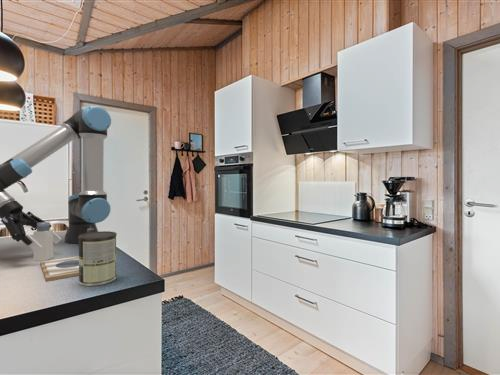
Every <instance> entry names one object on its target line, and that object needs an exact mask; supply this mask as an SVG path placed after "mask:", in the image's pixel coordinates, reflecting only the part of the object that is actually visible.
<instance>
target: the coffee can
mask: <svg viewBox="0 0 500 375" xmlns="http://www.w3.org/2000/svg"><path fill="white" fill-rule="evenodd" d="M78 239H79V243H78V256H79V276H78V284H79V285H80V286H84V287H85V286H86V287H95V286H97V287H98V286H102V285H106V284H109V283H112V282H114V281H115V280H116V279H117V232H115V231H110V230H109V231H105V230H103V231H98V232H90V233H85V234H81V235H79V236H78Z"/></svg>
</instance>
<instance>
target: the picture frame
mask: <svg viewBox="0 0 500 375" xmlns="http://www.w3.org/2000/svg"><path fill="white" fill-rule="evenodd" d="M39 265H40V268H41V270H42V274H43V277H44V280H45V282H52V281H55V280H60V279H61V280H62V279H67V278H71V277H79V255H78V256H71V257H63V258H58V259H57V258H56V259H49V260H47V261H39Z"/></svg>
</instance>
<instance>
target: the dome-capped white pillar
mask: <svg viewBox="0 0 500 375" xmlns="http://www.w3.org/2000/svg"><path fill="white" fill-rule="evenodd" d="M50 225H51V222H50V221H49V222H48V221H45V222H40V223H37V229H36V230H35V231H32V232H33V233H32V234H33V235H32V238H33V239H34V240H35V241H37V242H38V243H39V244H40V245H41V246H42V248H41V249H40V250H39V251H38V252H36V253H35V252H34V251H33V262H42V261H48V260H52V259H53V258H54V242H53V232H54V229H51V227H50ZM50 229H51V230H50Z"/></svg>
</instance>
